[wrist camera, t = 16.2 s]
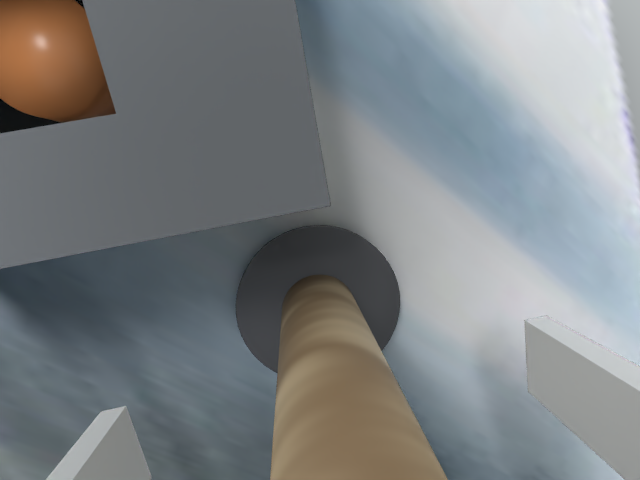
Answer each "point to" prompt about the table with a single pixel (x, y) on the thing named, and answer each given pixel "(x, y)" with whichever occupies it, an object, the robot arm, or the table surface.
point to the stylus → (340, 396)
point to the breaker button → (51, 61)
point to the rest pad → (306, 260)
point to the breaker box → (170, 133)
